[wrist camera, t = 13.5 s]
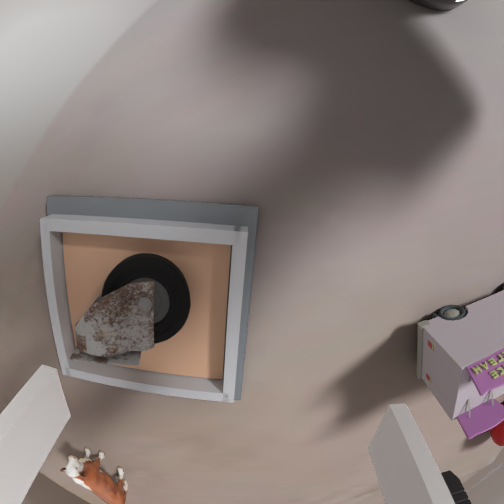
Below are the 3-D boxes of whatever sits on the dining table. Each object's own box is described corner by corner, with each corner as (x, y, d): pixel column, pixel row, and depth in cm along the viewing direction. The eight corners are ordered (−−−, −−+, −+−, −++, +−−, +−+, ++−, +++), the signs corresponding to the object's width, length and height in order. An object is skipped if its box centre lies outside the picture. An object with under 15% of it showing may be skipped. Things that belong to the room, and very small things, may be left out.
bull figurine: (87, 430, 38) (68, 467, 31) (137, 480, 42) (127, 516, 34) (69, 432, 39) (50, 467, 31) (119, 481, 42) (107, 516, 34)
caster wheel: (190, 252, 33) (186, 344, 34) (82, 245, 30) (85, 338, 31) (194, 263, 26) (190, 373, 27) (61, 255, 23) (69, 365, 24)
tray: (51, 195, 29) (33, 199, 26) (258, 206, 30) (259, 211, 27) (71, 369, 35) (60, 384, 32) (240, 394, 36) (240, 414, 33)
